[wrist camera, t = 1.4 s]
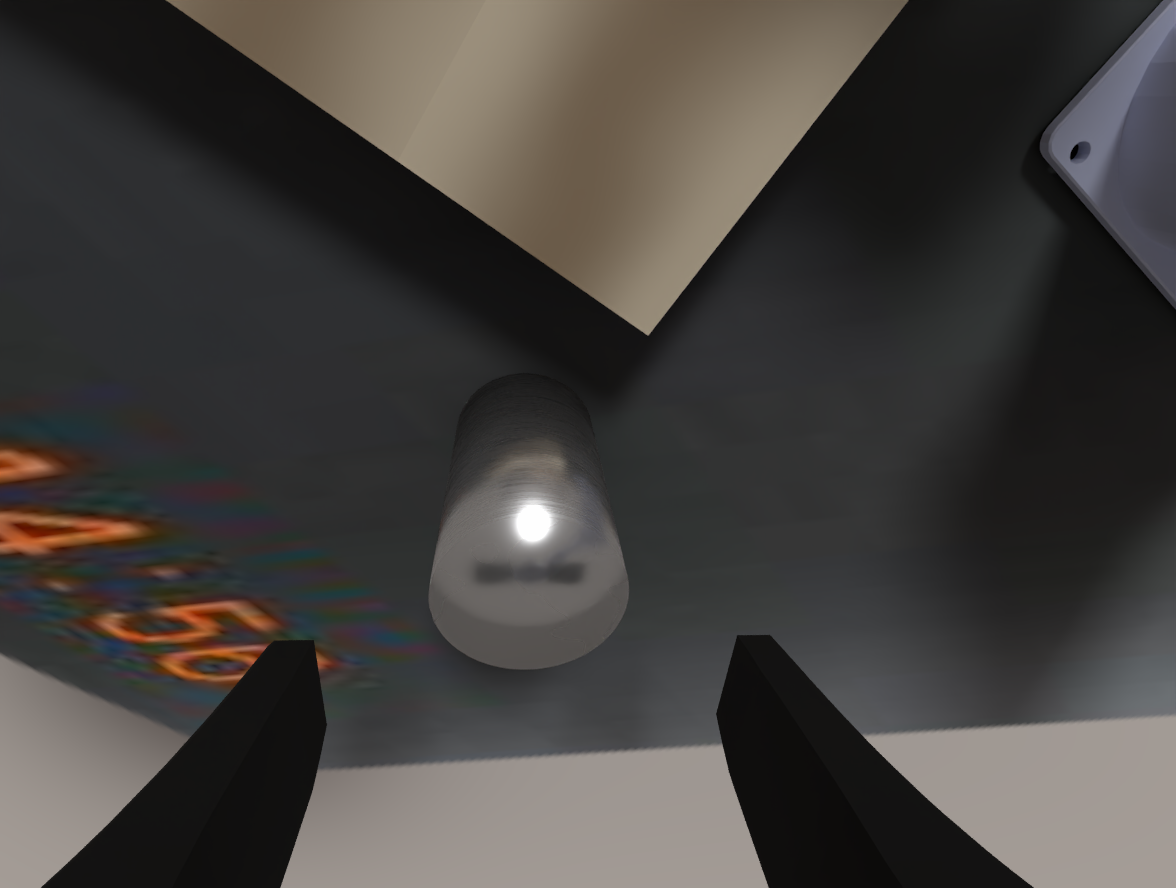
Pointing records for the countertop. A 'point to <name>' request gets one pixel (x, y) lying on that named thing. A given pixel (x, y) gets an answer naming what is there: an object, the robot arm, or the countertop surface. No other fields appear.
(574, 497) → the steel peg
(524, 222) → the socket block
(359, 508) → the countertop surface
